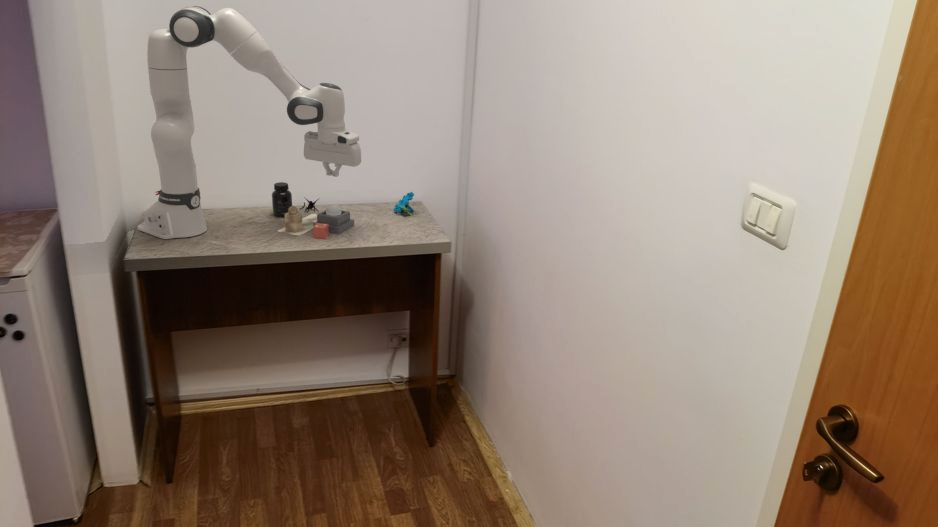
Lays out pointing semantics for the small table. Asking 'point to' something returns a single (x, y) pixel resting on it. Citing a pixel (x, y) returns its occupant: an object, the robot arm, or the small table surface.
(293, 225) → the pawn
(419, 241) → the small table surface
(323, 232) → the die
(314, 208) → the creature
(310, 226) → the board
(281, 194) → the supplement bottle
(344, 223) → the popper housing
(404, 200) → the blue lobed plastic figure
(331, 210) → the dome
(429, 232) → the small table surface
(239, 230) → the small table surface
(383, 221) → the small table surface
